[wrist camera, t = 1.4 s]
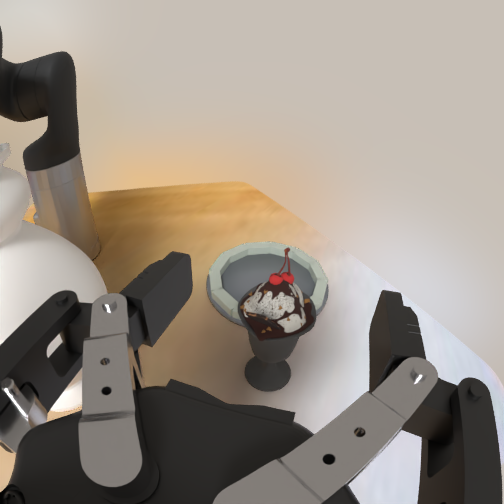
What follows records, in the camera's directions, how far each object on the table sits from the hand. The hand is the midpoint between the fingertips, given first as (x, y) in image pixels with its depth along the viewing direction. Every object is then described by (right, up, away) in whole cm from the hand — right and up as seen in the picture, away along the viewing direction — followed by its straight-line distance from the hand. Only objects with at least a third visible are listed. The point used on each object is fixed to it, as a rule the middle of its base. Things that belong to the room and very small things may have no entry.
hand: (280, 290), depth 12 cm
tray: (+1, -3, +31) cm, 31 cm away
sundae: (+1, -12, +19) cm, 22 cm away
